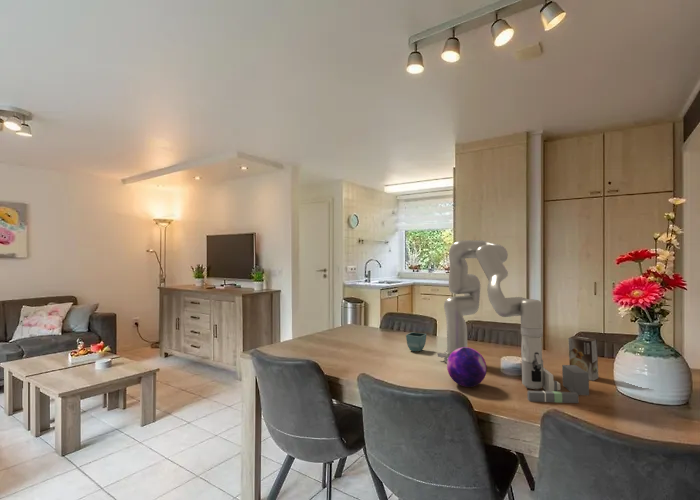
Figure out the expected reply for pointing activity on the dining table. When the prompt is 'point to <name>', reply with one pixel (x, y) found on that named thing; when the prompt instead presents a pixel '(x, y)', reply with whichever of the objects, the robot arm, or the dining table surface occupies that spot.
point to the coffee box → (584, 355)
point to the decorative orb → (466, 367)
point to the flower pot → (416, 341)
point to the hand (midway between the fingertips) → (532, 377)
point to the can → (530, 375)
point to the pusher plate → (550, 381)
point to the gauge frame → (572, 380)
